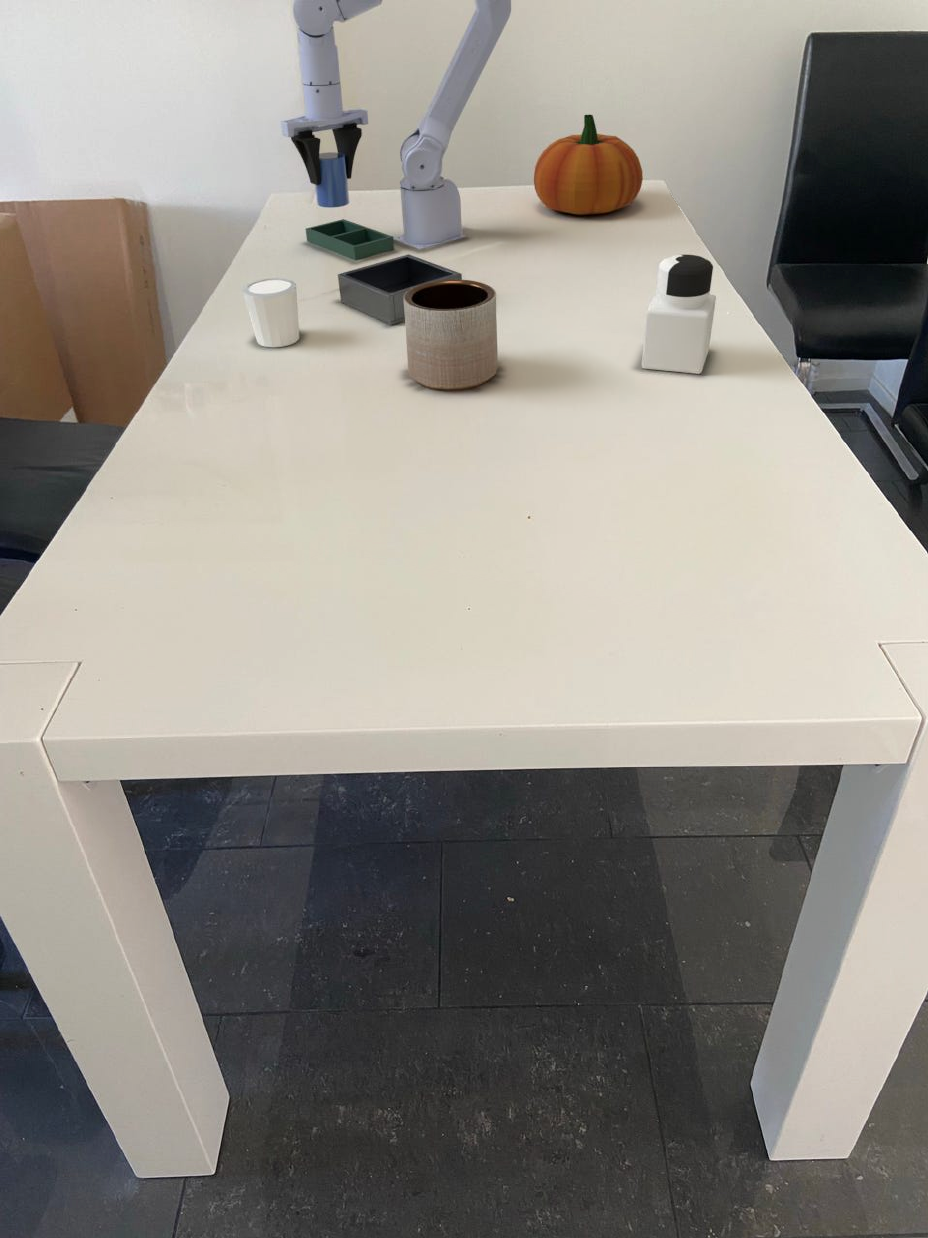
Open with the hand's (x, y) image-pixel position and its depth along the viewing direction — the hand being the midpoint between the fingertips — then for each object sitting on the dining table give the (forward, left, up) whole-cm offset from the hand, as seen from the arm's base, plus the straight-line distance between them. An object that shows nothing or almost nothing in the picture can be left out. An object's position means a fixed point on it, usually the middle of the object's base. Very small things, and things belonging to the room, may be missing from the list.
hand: (331, 180), depth 144 cm
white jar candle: (+28, +28, -11) cm, 41 cm away
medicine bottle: (-4, +69, -11) cm, 70 cm away
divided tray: (-1, +2, -10) cm, 11 cm away
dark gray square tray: (+8, +29, -10) cm, 32 cm away
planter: (+18, +53, -11) cm, 57 cm away
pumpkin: (-45, +13, -11) cm, 48 cm away
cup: (0, 0, -3) cm, 3 cm away
